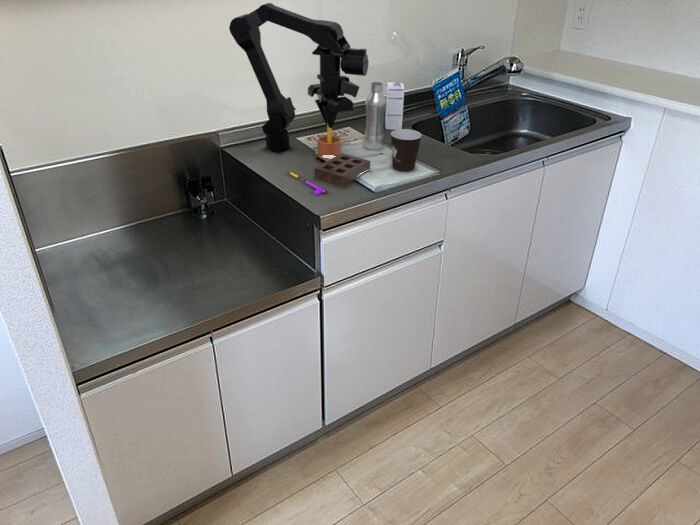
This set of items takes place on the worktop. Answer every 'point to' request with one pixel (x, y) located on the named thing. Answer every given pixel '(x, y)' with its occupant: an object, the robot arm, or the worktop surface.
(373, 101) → the silver metal bottle
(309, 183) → the purple long piece
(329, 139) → the pencil
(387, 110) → the syrup box
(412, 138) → the coffee mug
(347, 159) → the pencil block
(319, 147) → the pen pot
